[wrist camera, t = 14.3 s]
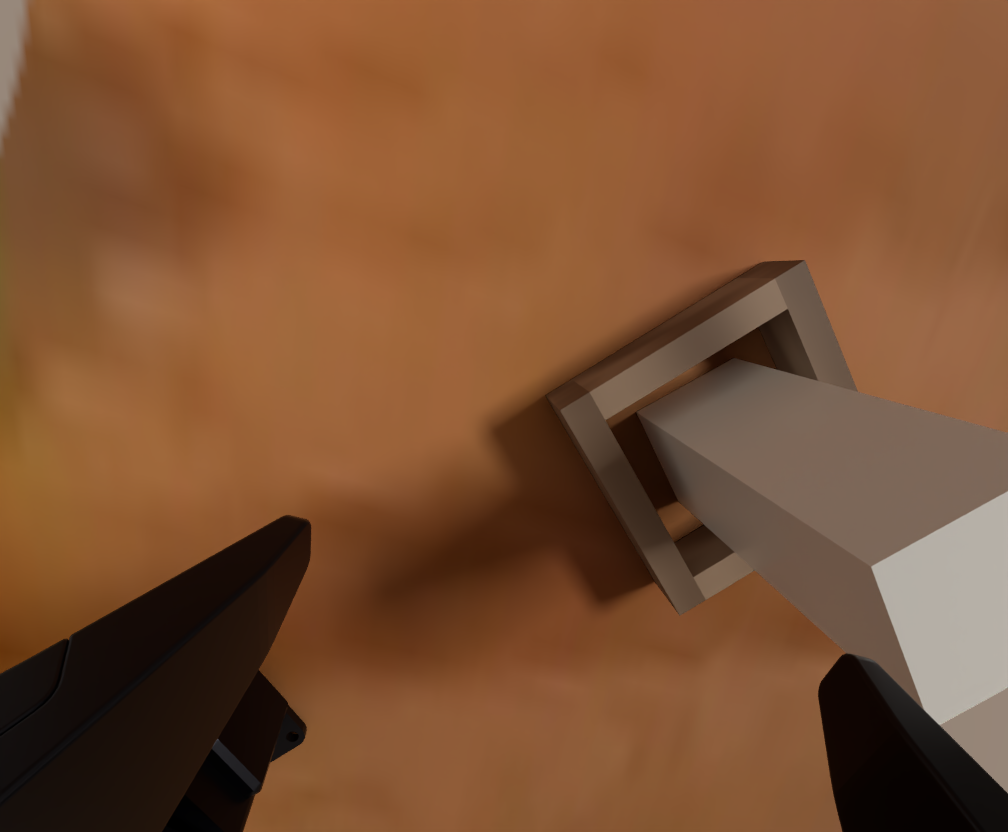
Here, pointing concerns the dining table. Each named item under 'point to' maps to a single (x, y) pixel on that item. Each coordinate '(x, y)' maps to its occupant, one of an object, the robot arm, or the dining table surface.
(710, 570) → the rectangular frame
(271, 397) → the dining table surface
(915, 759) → the robot arm
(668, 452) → the clay block
